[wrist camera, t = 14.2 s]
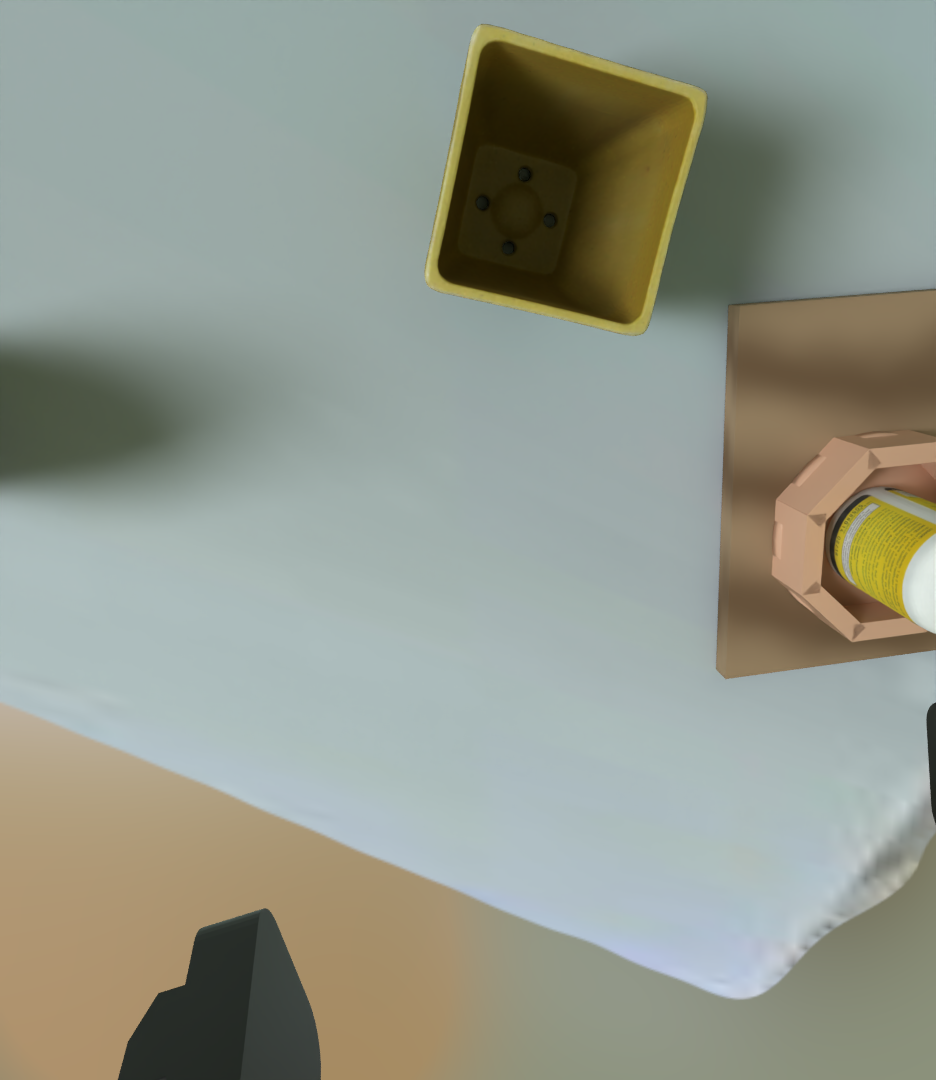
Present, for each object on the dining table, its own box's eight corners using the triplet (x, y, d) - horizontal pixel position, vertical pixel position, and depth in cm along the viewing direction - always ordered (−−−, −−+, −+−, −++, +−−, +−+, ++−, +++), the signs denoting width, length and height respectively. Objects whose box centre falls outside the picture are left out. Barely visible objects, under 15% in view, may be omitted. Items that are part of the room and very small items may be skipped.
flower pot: (442, 77, 36) (476, 16, 27) (628, 131, 38) (714, 89, 29) (402, 284, 38) (421, 288, 30) (579, 326, 40) (646, 340, 31)
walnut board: (728, 305, 41) (739, 305, 40) (986, 284, 42) (1004, 285, 41) (716, 669, 47) (725, 678, 46) (940, 638, 49) (955, 647, 48)
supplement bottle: (824, 593, 44) (952, 678, 35) (817, 498, 42) (951, 562, 33) (917, 568, 45) (1069, 646, 35) (915, 473, 43) (1074, 529, 34)
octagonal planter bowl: (777, 441, 42) (809, 453, 39) (963, 422, 43) (1007, 432, 40) (767, 627, 45) (795, 651, 42) (940, 605, 47) (979, 626, 44)
